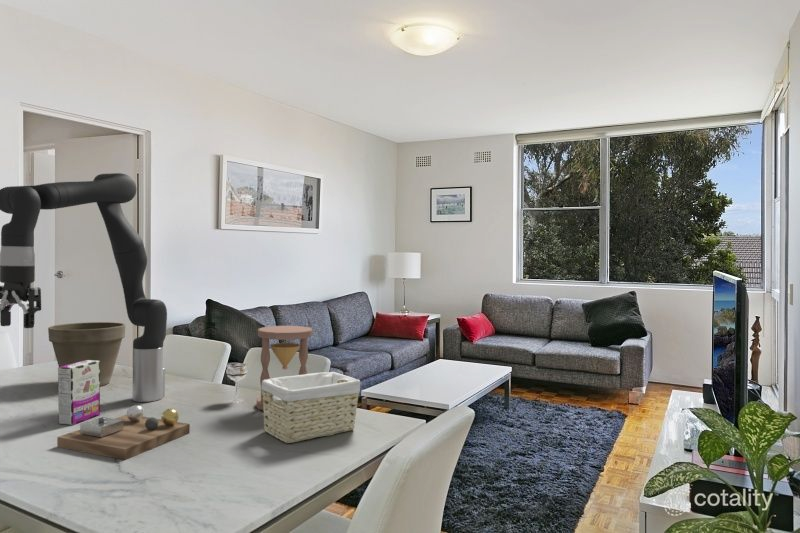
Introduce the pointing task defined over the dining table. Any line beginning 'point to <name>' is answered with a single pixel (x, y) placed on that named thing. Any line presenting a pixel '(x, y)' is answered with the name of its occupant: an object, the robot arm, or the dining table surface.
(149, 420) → the black rubber ball
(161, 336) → the robot arm
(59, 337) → the plant pot
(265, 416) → the storage basket
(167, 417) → the brass ball
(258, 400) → the hourglass
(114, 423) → the steel cover
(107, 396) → the dining table surface
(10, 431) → the dining table surface
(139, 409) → the steel ball
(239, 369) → the wineglass
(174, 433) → the walnut board
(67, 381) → the candy bar box
